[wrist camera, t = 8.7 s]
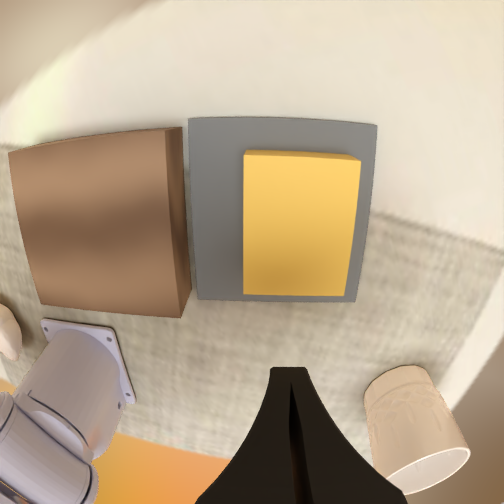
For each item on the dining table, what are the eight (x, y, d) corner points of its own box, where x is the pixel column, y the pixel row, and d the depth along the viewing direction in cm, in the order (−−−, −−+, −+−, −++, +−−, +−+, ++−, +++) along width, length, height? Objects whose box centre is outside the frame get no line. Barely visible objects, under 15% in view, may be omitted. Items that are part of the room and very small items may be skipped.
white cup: (440, 388, 27) (473, 464, 18) (374, 423, 29) (393, 502, 20) (421, 345, 24) (465, 435, 15) (343, 387, 26) (363, 483, 17)
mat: (353, 298, 22) (355, 302, 22) (199, 295, 23) (197, 299, 22) (374, 125, 17) (377, 125, 17) (189, 118, 18) (188, 118, 17)
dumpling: (43, 342, 26) (24, 368, 23) (17, 347, 27) (-1, 370, 24) (7, 283, 24) (-18, 305, 20) (-17, 294, 25) (-39, 314, 21)
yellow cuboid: (243, 294, 19) (245, 274, 21) (343, 296, 19) (336, 276, 21) (243, 155, 16) (246, 149, 18) (361, 161, 16) (349, 154, 18)
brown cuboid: (191, 289, 23) (180, 318, 19) (63, 281, 23) (41, 304, 20) (182, 127, 18) (164, 130, 15) (38, 144, 18) (8, 152, 15)
